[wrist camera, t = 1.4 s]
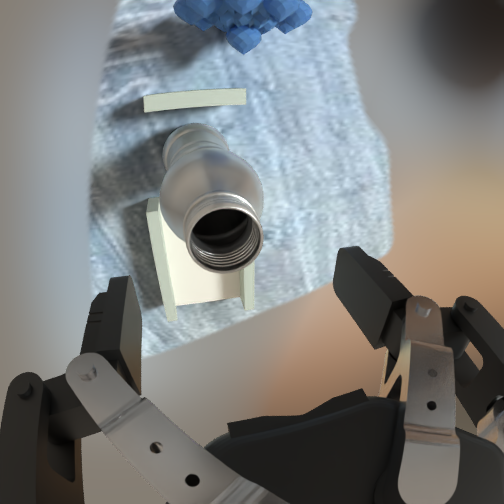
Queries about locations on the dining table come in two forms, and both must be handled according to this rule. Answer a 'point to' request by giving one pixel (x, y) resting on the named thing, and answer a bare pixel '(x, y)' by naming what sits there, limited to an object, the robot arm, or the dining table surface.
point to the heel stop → (194, 99)
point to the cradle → (190, 271)
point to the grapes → (244, 17)
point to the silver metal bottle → (211, 199)
